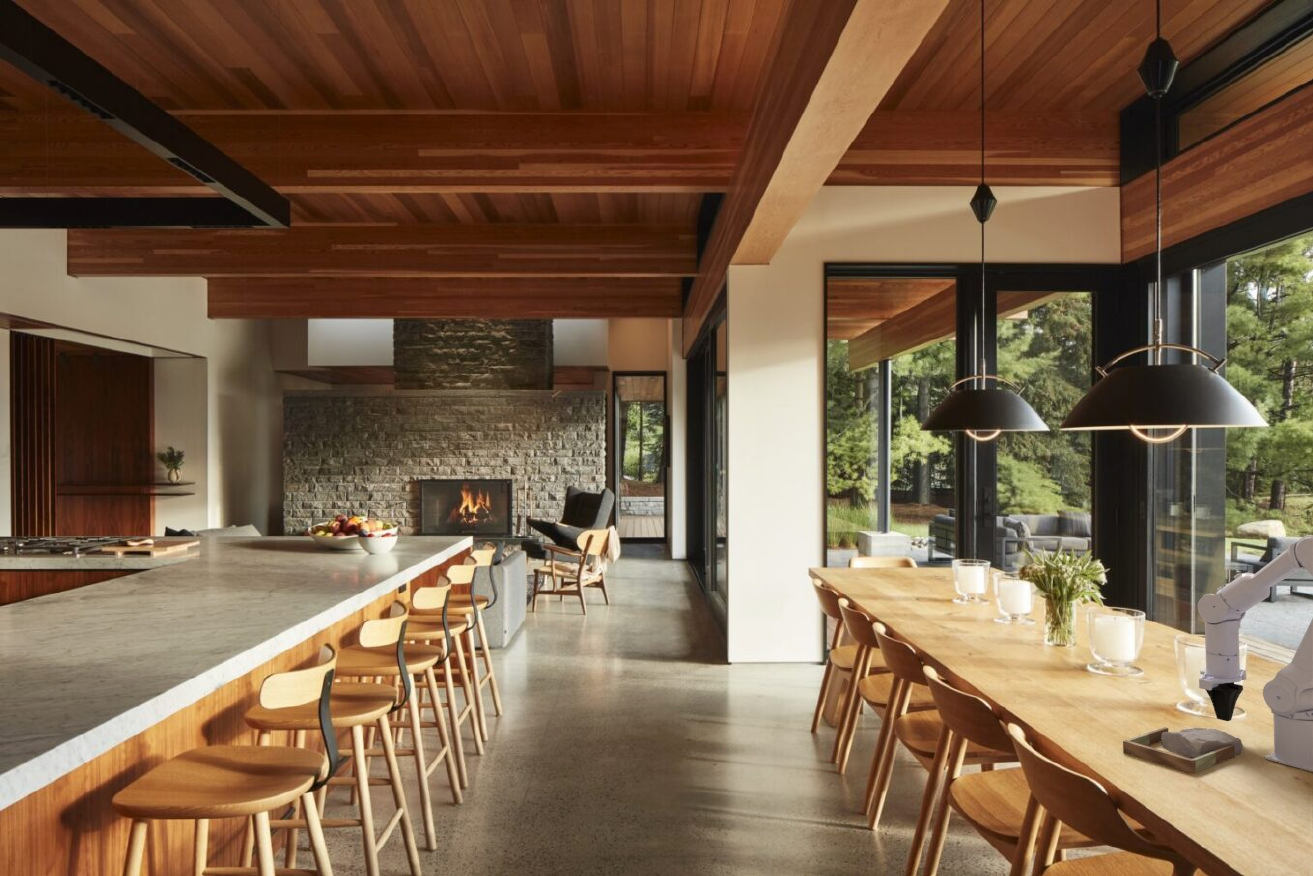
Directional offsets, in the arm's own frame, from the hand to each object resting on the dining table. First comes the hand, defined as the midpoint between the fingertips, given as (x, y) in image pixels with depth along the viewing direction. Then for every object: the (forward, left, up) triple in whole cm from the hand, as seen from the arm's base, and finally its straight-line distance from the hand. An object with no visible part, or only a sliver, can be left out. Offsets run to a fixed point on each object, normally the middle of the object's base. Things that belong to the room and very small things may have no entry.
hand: (1224, 719), depth 169 cm
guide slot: (0, +18, -4) cm, 18 cm away
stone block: (-1, +11, -4) cm, 12 cm away
